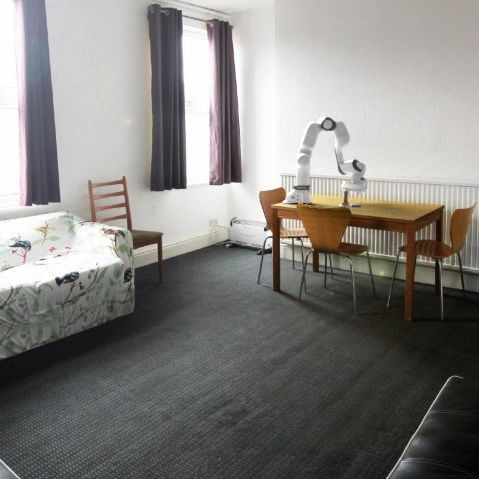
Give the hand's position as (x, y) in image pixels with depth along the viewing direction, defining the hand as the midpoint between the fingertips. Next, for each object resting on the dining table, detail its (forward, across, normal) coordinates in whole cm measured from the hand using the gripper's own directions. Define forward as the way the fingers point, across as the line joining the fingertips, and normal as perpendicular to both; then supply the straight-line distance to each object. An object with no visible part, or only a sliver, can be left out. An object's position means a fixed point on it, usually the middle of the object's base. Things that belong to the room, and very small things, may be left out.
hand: (351, 194), depth 445 cm
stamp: (+13, 0, -4) cm, 14 cm away
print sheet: (+14, 0, -4) cm, 14 cm away
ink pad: (+13, +8, -3) cm, 15 cm away
